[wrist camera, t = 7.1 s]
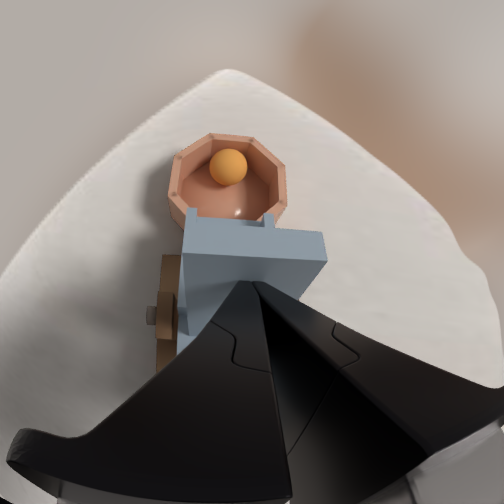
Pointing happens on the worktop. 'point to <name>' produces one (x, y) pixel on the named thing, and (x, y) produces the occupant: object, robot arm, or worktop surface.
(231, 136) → the orange octagonal bowl
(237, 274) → the catapult lever
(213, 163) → the ball
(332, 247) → the worktop surface
